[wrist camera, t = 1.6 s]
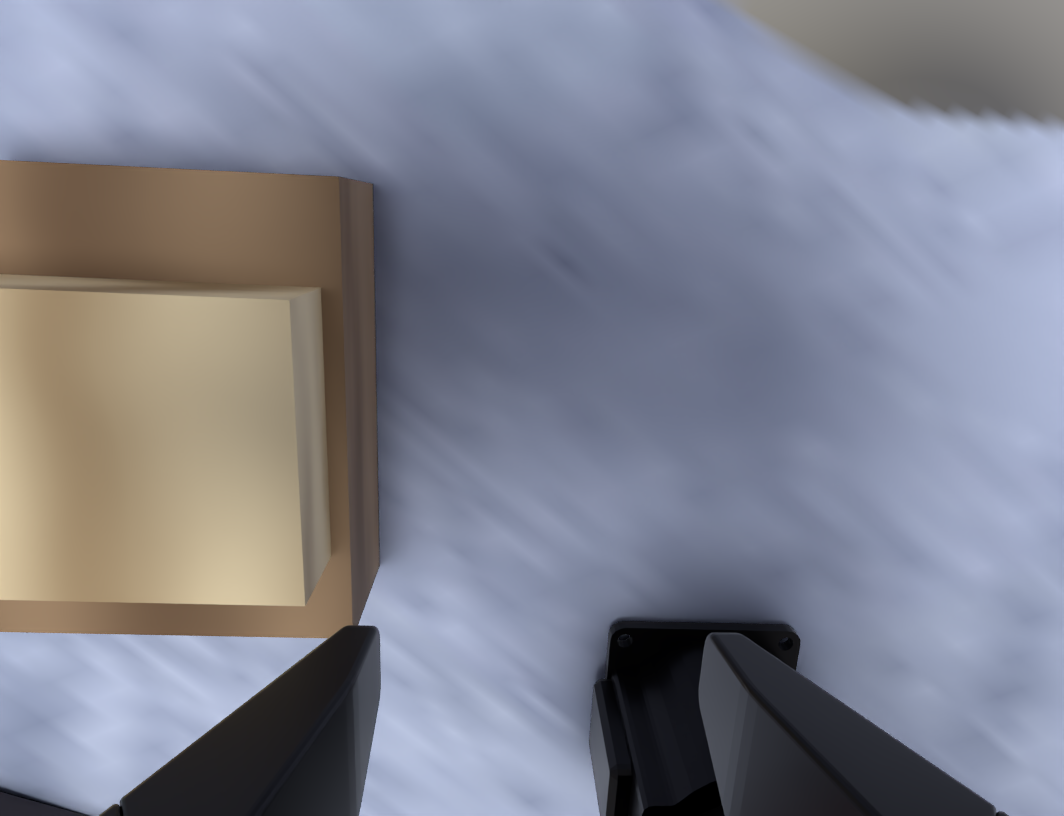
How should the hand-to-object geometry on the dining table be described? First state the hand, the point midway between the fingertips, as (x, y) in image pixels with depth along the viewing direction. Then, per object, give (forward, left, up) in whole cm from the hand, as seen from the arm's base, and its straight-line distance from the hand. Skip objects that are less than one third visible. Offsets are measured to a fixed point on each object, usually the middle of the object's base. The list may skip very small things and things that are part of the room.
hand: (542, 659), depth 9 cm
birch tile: (+9, 0, -9) cm, 13 cm away
